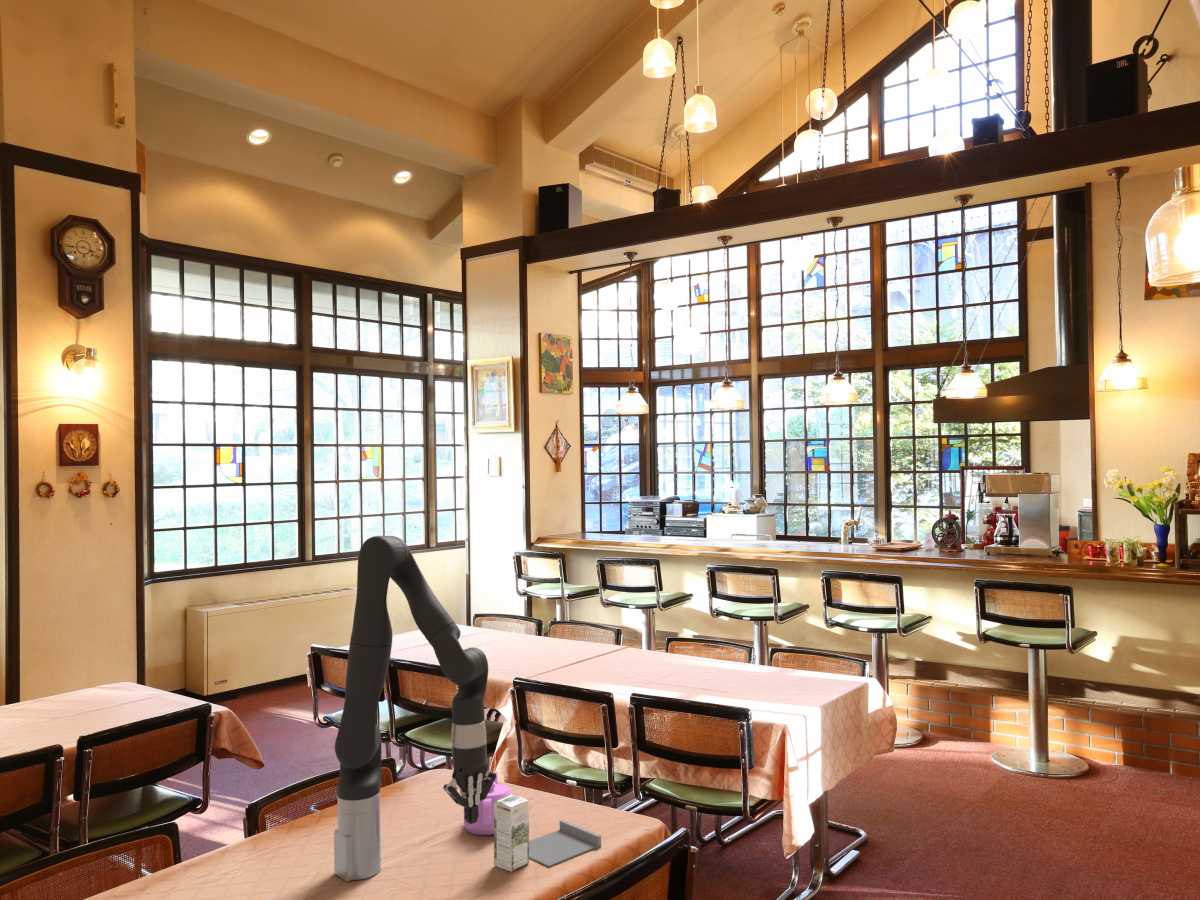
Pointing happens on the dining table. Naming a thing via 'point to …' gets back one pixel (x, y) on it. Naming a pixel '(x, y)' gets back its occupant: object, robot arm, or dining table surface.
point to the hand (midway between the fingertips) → (471, 822)
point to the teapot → (488, 809)
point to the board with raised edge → (563, 844)
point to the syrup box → (511, 833)
